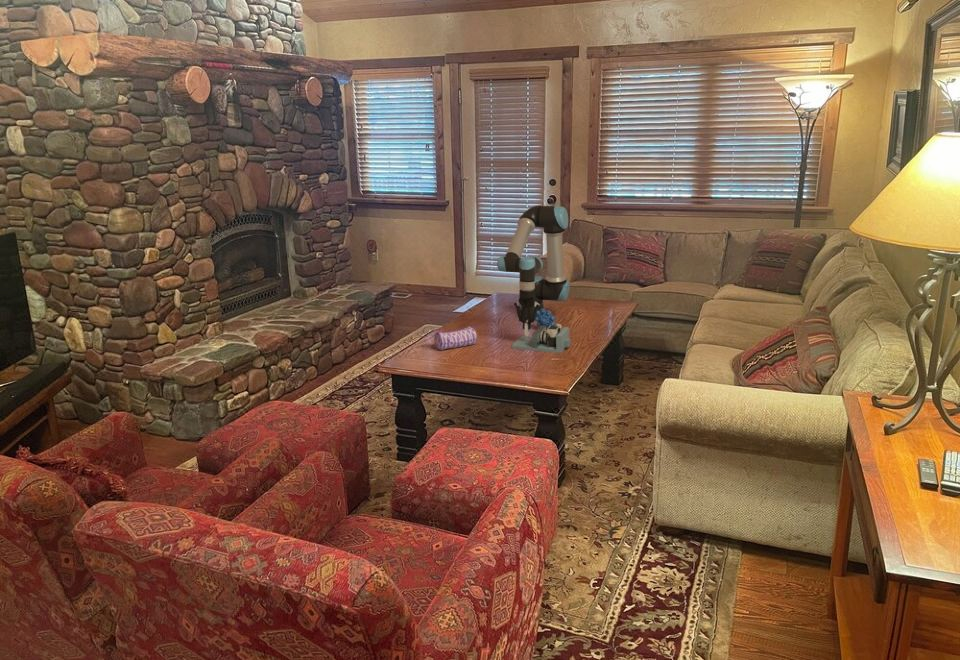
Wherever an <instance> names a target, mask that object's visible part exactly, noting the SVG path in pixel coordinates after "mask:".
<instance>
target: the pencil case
mask: <svg viewBox="0 0 960 660" xmlns="http://www.w3.org/2000/svg"><path fill="white" fill-rule="evenodd" d="M434 333H435V335H434V338H433V339H434V345H435V348H436V349H437V350H439V351H441V350H442V351H443V350H446V349H455V348H460V347H465V346H466V347H467V346H472V345H475V344H476V343H477V341H478V334H477V332H476V329H475V326H474V325H471V326H468V327H465V328H463V329H457V330H452V331H446V332H442V331H434Z"/></svg>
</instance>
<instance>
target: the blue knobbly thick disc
mask: <svg viewBox="0 0 960 660" xmlns="http://www.w3.org/2000/svg"><path fill="white" fill-rule="evenodd" d="M536 315H537V316H536V318H535V321H536V326H537V328H539V327H540V326H541V325H546V327H547V328H549V327H550V325H553V326H556V322H555V321H556V317H555V316H554V315H552V311H550V310H546V309H545V308H544V309H541V310H540V311H537V314H536Z"/></svg>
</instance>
